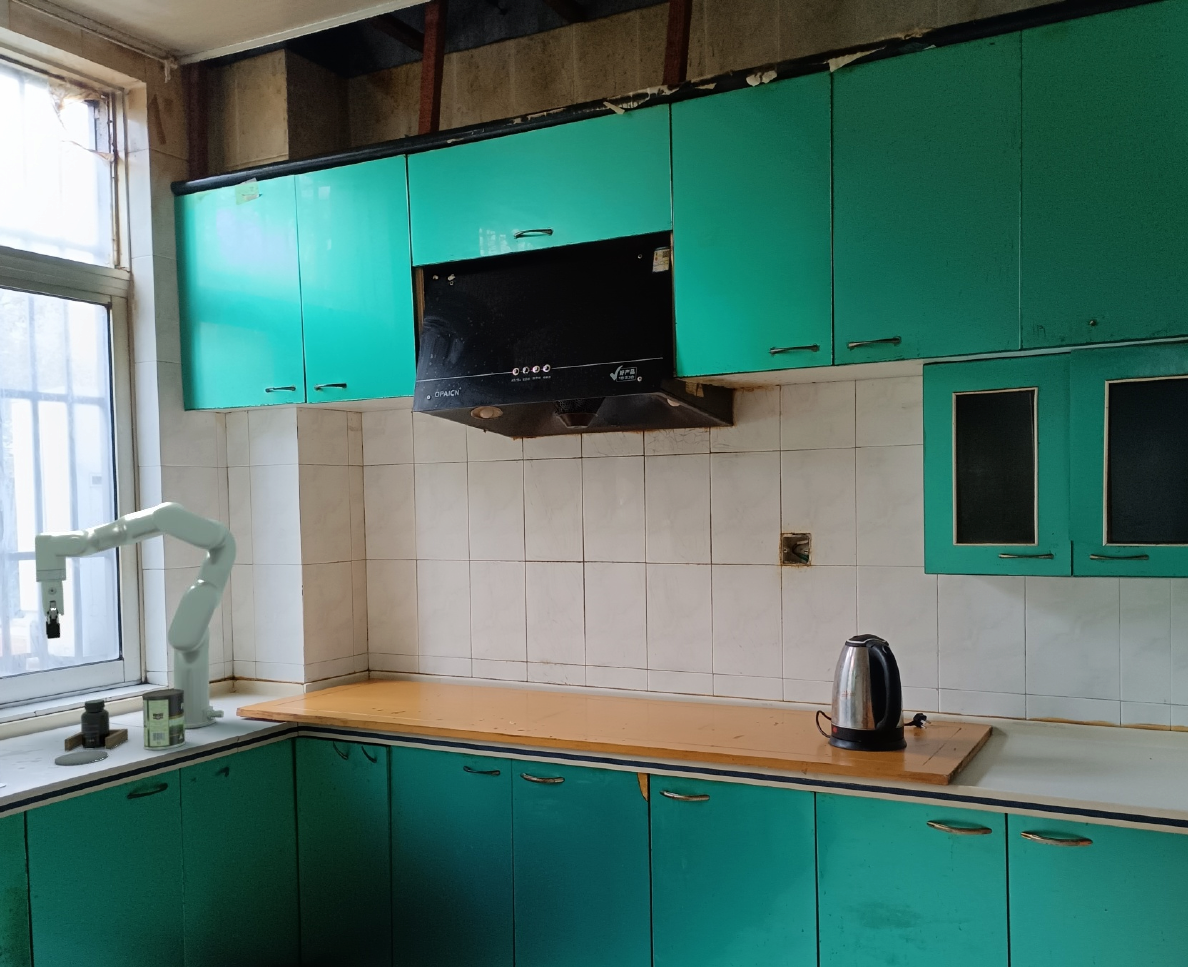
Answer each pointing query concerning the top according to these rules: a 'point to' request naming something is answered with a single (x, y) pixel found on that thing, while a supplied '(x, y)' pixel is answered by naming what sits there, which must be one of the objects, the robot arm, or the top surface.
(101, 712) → the supplement bottle
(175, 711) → the coffee can
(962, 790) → the top surface
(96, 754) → the rubber mat
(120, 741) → the bottle holder
